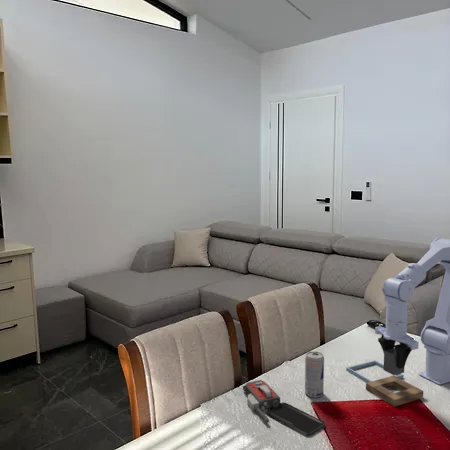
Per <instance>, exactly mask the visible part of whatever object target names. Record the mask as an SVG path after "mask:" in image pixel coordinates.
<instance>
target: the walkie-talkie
mask: <svg viewBox="0 0 450 450" xmlns="http://www.w3.org/2000/svg"><path fill="white" fill-rule="evenodd" d="M267 383H268V382H266V381H264V380H262V379H260V380H254V381H249V382H246V384H245V385H243V386H242V390H243V391H244V393H245V394H246V395H247V398H246V400H247V403H246V404H247V406H249V408H250V410H251V411H252V412H254V411H255V412H257V413H258V415H259V416H260V417H261V418H262V419H263V421H265V422H266V423H270V419H269V418H268V416H267V415H266V413H264V412H263V411H265V410H268V409H270V408H272V407H278V406H279V404H280V403H281V397H280V395H279V394H277V392H276V391H275V390H273V388H271V387H270V385H269V384H267Z"/></svg>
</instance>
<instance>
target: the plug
mask: <svg viewBox="0 0 450 450" xmlns="http://www.w3.org/2000/svg"><path fill="white" fill-rule="evenodd" d="M383 365H384V369H383V371H385V372H387V373H388V374H390V375H391V376H393V375H394V376H397V374H404V373H405V367H404V368H400V369H399V368H398V367H397V355H396V350H395V347H394V348H392V349H388V350H384V353H383Z"/></svg>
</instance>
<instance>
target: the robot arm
mask: <svg viewBox="0 0 450 450" xmlns="http://www.w3.org/2000/svg"><path fill="white" fill-rule="evenodd" d="M439 263H440V264H441V265H442V266H443V268H444V269H445V272H444V277H443V280H442V283H441V289H440V292H439V297H438V301H437V305H436V309H435V312H434V313H435V314H434V317H432V318H431V319H429V320H426V321H425V325H424V327H423V329H422V330H421V332H420V341H421V343H422V344H423V345H424V346H423V347H424V349H425V367H424V368H425V371H422V372H418V375H419V376H421V377H423V378H425V379H427V380H429V381H431V382H433V383H435V384H437V385H444V384H446V383H449V382H450V238H449V239H448V238H442V237H436V238H434V240H433V241H432V242H430V245H429V249H428V251H427V252H426V253H425V254H424V255H423V256H422V257H421V258H420V259H419V261H418V262H416V263H415V262H411V263H409V264H407V266H406V267H404V269H403V270H401V271H400V272H399V273H398V274H396V276H395V277H389V278H388V279H386V280H385V281H384V283H383V287H381V290H382V291H381V292H382V294H383V296H384V301H385V303H386V308H385V327H384V326H381V325H379V326H375V328H374V334H376V335H381V336H380V337H378V338H377V341H378V343H379V344H380V347H381V349H382V352H383V354H384V350H388V349H392V348H395V350H396V355H397V367H398V368H399V369H400V368H404V369H405V366H406V363H407V360H408V358H409V355H410V354H411V352H412V351H415V350H417V349H419V341H417V340H416V339H414V338H412V337H411V336H410V335H408V334H407V331H408V329H407V328H408V308H409V307H408V304H409V301H408V300H410V299H411V298H412V296H413V295H414V294H413V293H414V291H415V290H416V287H417V286H418V285H419V284H420V283H421V282H423V281H424V280H425V279H426V277H427V272H428V271H429V270H431V269H432V268H433V267H434V266H436V265H437V264H439ZM396 343H399V344H396Z"/></svg>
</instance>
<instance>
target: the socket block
mask: <svg viewBox="0 0 450 450" xmlns="http://www.w3.org/2000/svg"><path fill="white" fill-rule="evenodd" d="M396 376H397V375H391V376H387V377H383V378H380V379H376V380H371V381H372V382H368V383H367V382H365V390H366V391H368V392H370V393H371V394H373V395H374V396H376V397H377V398H380V399H381V400H383V401H384V402H386V403H387V404H389V405H391V406H392V407H398V406H401V405H405V404H407V403H411V402H413V401H417V400H420V399H423V398H424V390H422V389H420V388H418V387H417V386H414V385H413V384H411V383H409V382H407V381H406V380H403V379H400V378H398V377H396ZM392 388H394V389H396V390H398V391H397V392H393V391H391V390H390V389H392Z"/></svg>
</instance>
